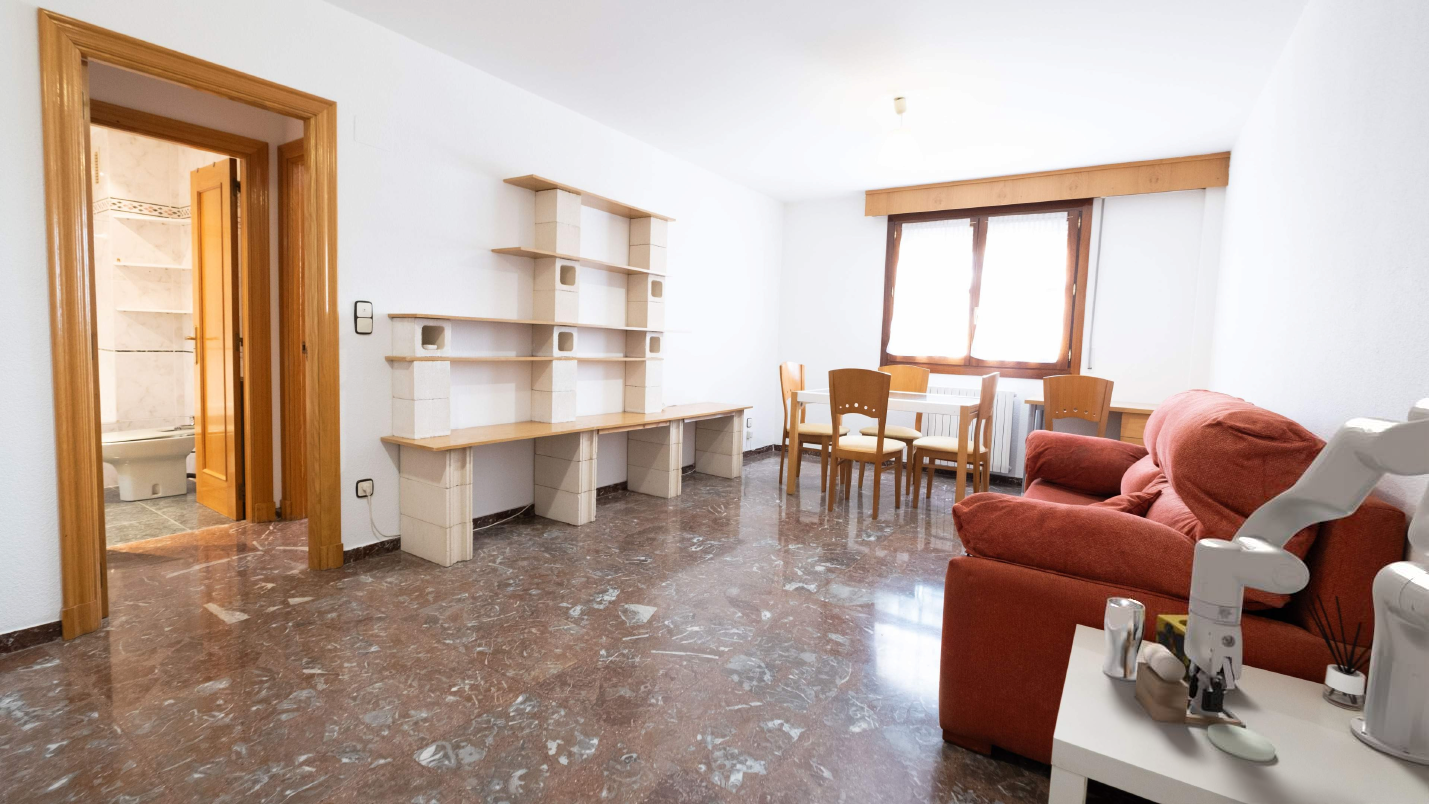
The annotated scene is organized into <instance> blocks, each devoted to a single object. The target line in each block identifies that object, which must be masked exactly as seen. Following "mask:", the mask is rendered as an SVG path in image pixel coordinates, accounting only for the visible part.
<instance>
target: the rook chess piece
mask: <svg viewBox="0 0 1429 804" xmlns="http://www.w3.org/2000/svg"><path fill="white" fill-rule="evenodd" d="M1197 677H1198V679H1199V682H1198V683H1197V684H1198V691H1197V695H1196V697H1194V699H1193V700H1192V701H1191V703H1190V704H1191V706H1189V707H1188V709H1189V711H1190V712H1191V714H1193V715H1202V716H1212V717H1220V714H1219V713H1217V712H1207V711H1203V710H1202V709H1201V704H1202V694H1203V689H1206V672H1203V670H1200V672H1199V673H1198V674H1197ZM1215 681H1219V680H1218V679H1217V678H1213V683H1214V682H1215Z"/></svg>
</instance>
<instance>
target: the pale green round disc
mask: <svg viewBox="0 0 1429 804" xmlns="http://www.w3.org/2000/svg"><path fill="white" fill-rule="evenodd" d="M1206 735H1207V739H1208V740H1209V741H1210V742H1211V743H1212V744H1213V745H1214V746H1215V747H1217V748H1218V749H1220V750H1221V751H1223V752H1226V753H1227V754H1230V755H1233V756H1235V757H1238V758H1240V759H1244V760H1247V761H1253V762H1258V763H1259V762H1260V763H1262V762H1264V763H1265V762H1271V761H1273V760H1275V759H1274V758H1275V756H1276V747H1275V746H1274V745H1273V743H1271V742H1270V740H1268V739H1266V737H1264V736H1262V735H1260V734H1258V733H1256V732H1254V731H1253V730H1249V729H1247V728H1246V729H1244V728H1241V727H1238V726H1234V725H1229V724H1213V725H1208V728H1207V733H1206Z"/></svg>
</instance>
